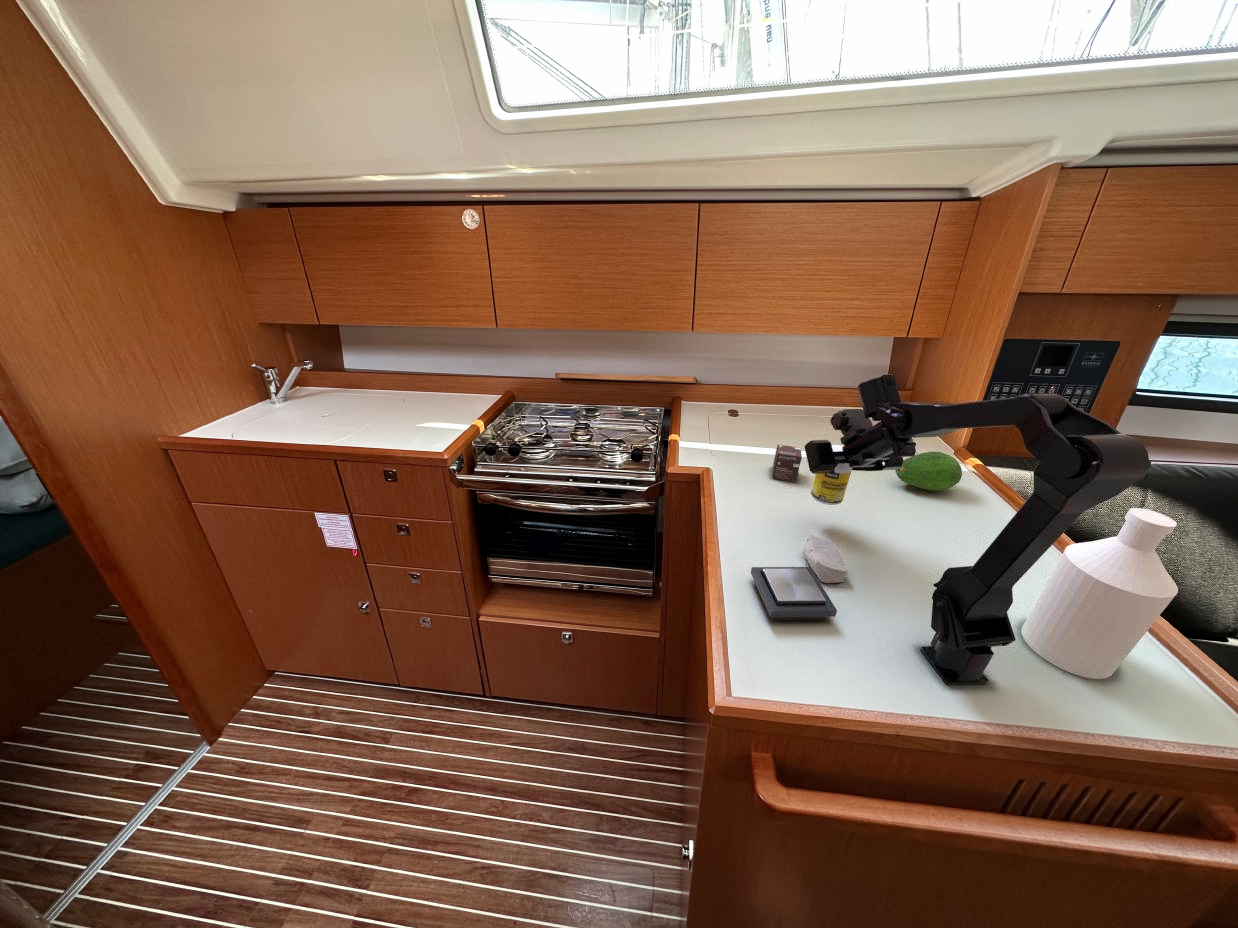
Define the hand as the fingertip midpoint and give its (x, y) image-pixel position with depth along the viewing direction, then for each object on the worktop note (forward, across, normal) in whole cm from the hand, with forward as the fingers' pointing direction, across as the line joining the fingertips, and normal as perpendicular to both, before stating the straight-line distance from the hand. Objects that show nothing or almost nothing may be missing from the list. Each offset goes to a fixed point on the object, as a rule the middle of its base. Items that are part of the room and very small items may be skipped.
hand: (829, 468), depth 99 cm
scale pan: (-8, +18, +24) cm, 31 cm away
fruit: (+17, -36, +1) cm, 40 cm away
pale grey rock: (-1, +7, +20) cm, 22 cm away
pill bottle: (+4, 0, +6) cm, 7 cm away
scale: (-7, +18, +26) cm, 32 cm away
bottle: (-17, -21, +37) cm, 46 cm away
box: (+24, -3, -6) cm, 25 cm away
